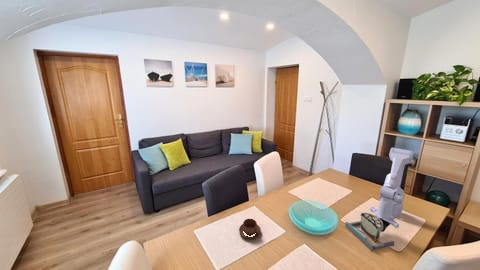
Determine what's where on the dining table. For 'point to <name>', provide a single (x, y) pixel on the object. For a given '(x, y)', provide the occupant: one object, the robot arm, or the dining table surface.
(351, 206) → the dining table surface
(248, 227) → the cup and saucer
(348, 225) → the grey piece
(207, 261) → the dining table surface
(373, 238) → the food container
